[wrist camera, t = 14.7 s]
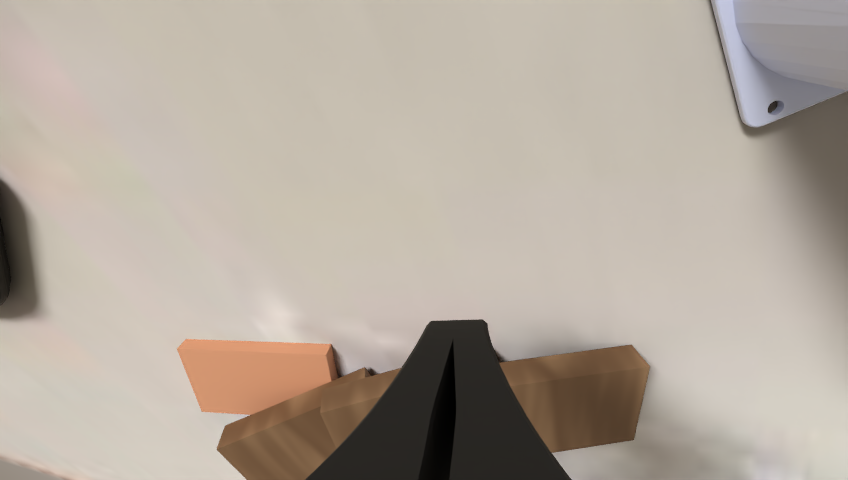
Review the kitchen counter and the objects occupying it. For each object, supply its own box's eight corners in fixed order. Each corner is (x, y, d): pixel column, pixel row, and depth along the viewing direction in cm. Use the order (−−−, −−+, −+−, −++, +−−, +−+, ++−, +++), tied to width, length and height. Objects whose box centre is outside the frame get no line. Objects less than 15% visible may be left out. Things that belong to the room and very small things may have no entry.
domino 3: (649, 366, 21) (462, 393, 20) (633, 439, 23) (464, 466, 22) (631, 344, 22) (456, 368, 21) (617, 415, 24) (458, 439, 24)
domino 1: (364, 388, 23) (216, 449, 24) (403, 445, 26) (266, 499, 26) (364, 367, 25) (225, 425, 26) (402, 422, 27) (272, 475, 28)
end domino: (326, 354, 24) (177, 348, 25) (339, 420, 26) (201, 411, 28) (335, 336, 26) (193, 331, 27) (347, 399, 28) (215, 392, 29)
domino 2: (497, 364, 22) (319, 413, 22) (510, 433, 24) (349, 477, 24) (488, 344, 23) (322, 389, 23) (501, 410, 25) (350, 452, 25)
